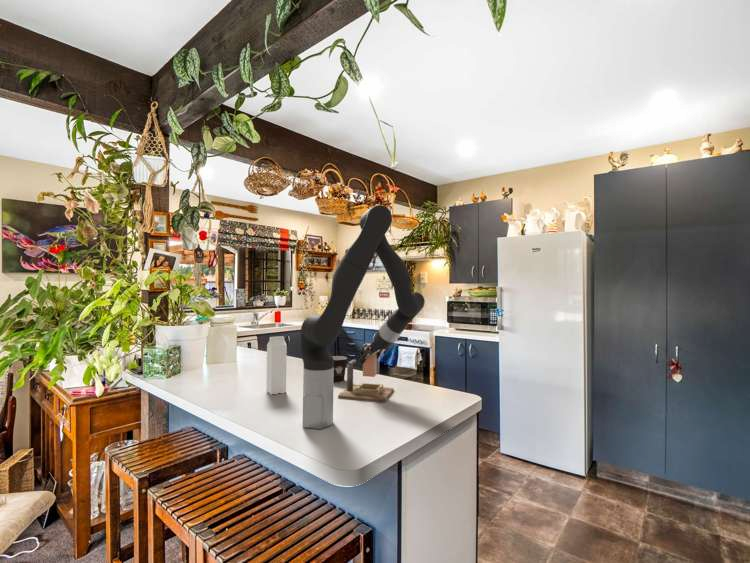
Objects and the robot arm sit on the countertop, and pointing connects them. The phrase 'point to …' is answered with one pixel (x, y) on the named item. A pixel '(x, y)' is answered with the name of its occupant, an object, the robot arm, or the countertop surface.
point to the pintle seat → (364, 389)
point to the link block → (370, 365)
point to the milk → (276, 365)
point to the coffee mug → (339, 368)
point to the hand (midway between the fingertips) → (367, 360)
